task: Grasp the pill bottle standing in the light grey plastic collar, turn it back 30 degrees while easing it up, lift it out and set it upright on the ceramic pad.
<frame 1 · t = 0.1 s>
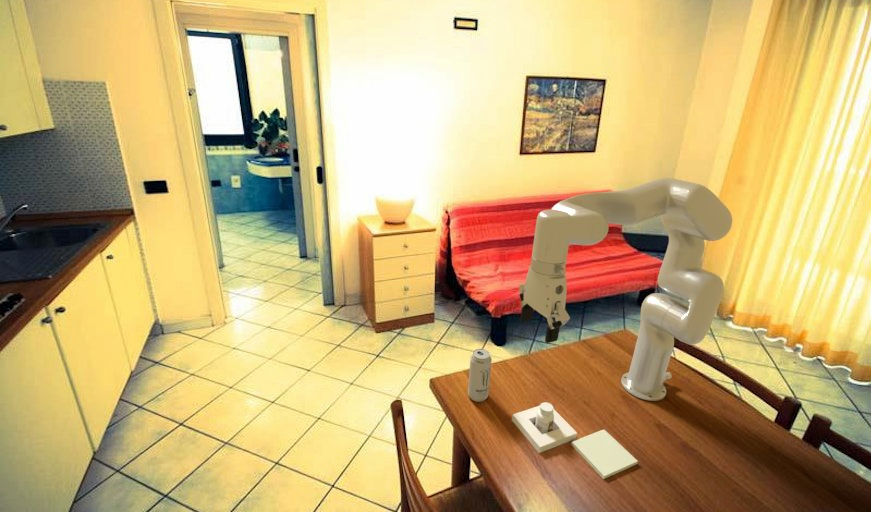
hand: (538, 330, 98), 31 cm above the table, fingers open, 9 cm apart
pill bottle: (543, 429, 110), resting in collar
collar: (543, 429, 109), on the table
energy drink can: (477, 396, 121), on the table
pad: (603, 454, 102), on the table
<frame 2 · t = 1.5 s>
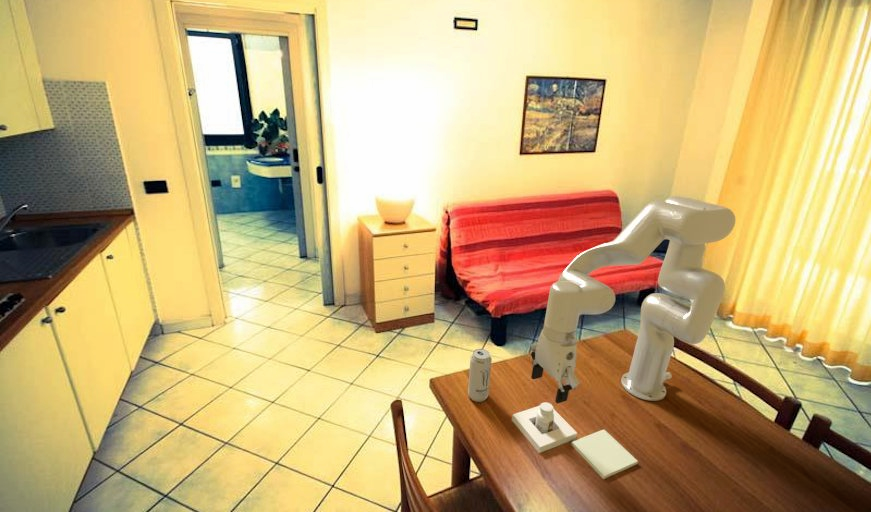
hand: (548, 389, 104), 14 cm above the table, fingers open, 9 cm apart
nothing on the table moved.
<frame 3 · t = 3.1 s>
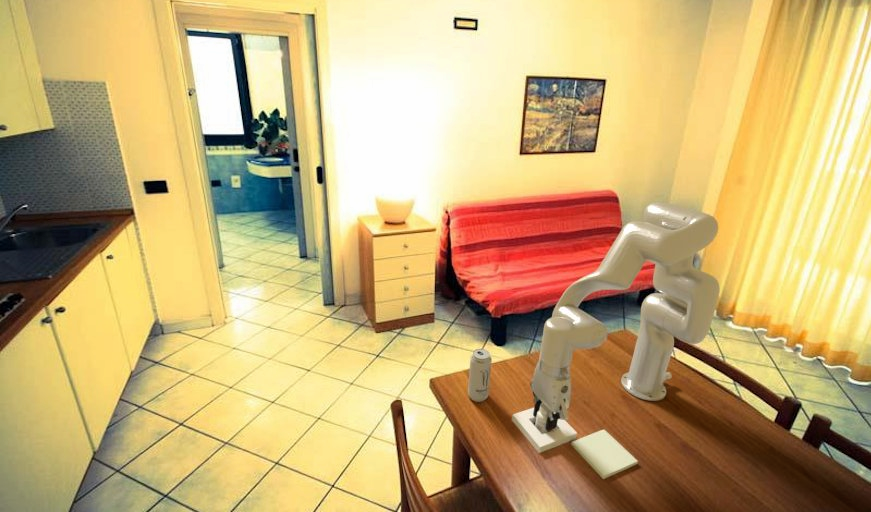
hand: (544, 421, 108), 3 cm above the table, fingers closed on pill bottle, 4 cm apart
pill bottle: (543, 429, 110), resting in collar, touching gripper
everything else where it was.
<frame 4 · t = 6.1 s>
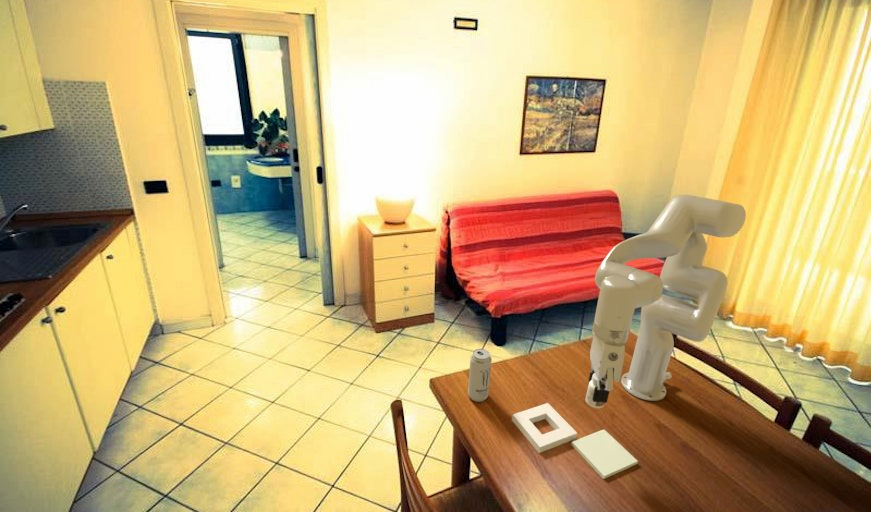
hand: (597, 393, 98), 17 cm above the table, fingers closed on pill bottle, 4 cm apart
pill bottle: (594, 403, 100), point 14 cm above the table, touching gripper
everything else where it was.
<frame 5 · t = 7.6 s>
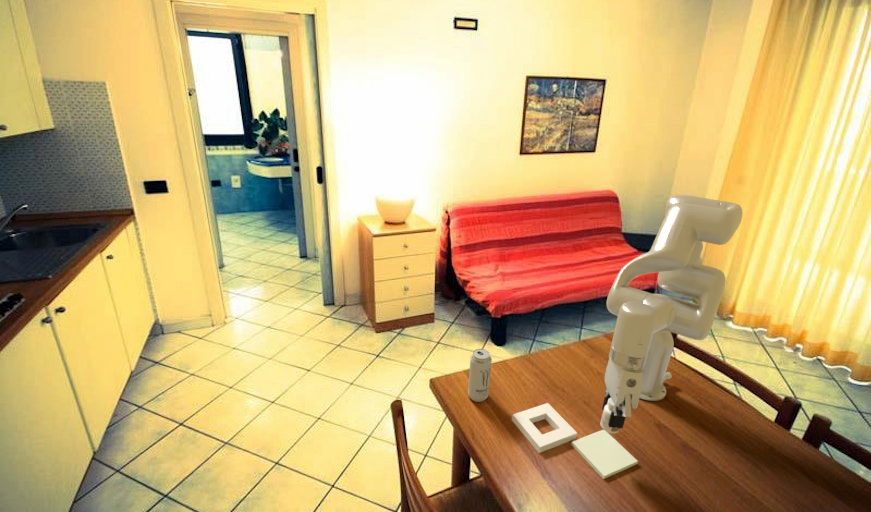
hand: (612, 418, 98), 12 cm above the table, fingers closed on pill bottle, 4 cm apart
pill bottle: (609, 427, 99), point 9 cm above the table, touching gripper
everything else where it was.
when the fingers open (5 cm above the table, at t = 9.1 s): pill bottle drops 1 cm, resting on pad.
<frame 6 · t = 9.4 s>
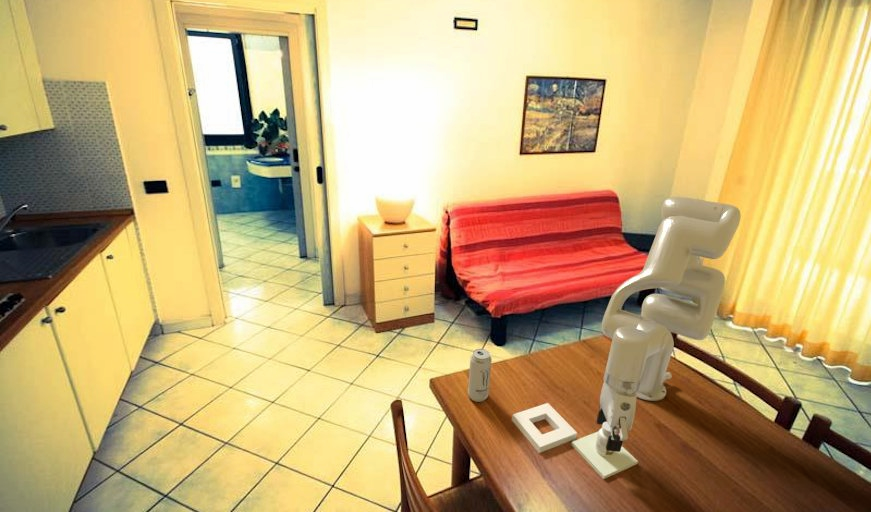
hand: (607, 436, 100), 6 cm above the table, fingers open, 7 cm apart
pill bottle: (604, 451, 102), point 1 cm above the table, touching pad
everything else where it was.
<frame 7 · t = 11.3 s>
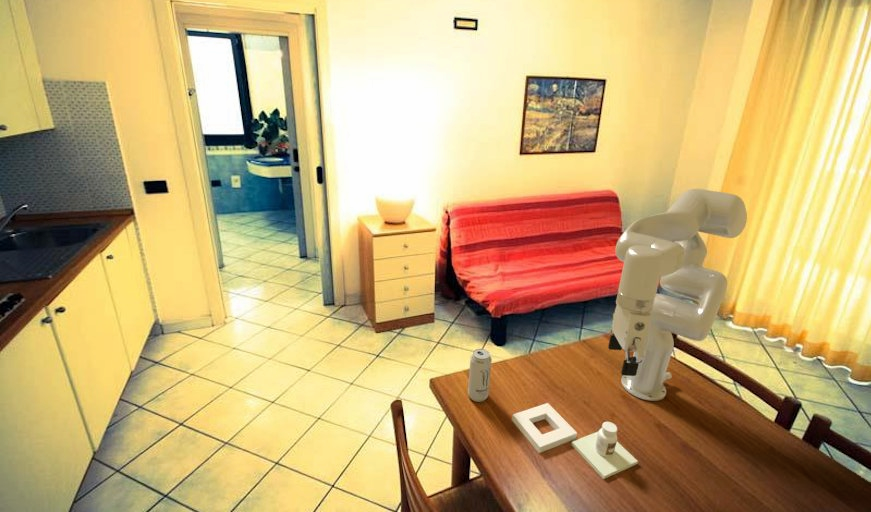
hand: (621, 361, 98), 24 cm above the table, fingers open, 9 cm apart
nothing on the table moved.
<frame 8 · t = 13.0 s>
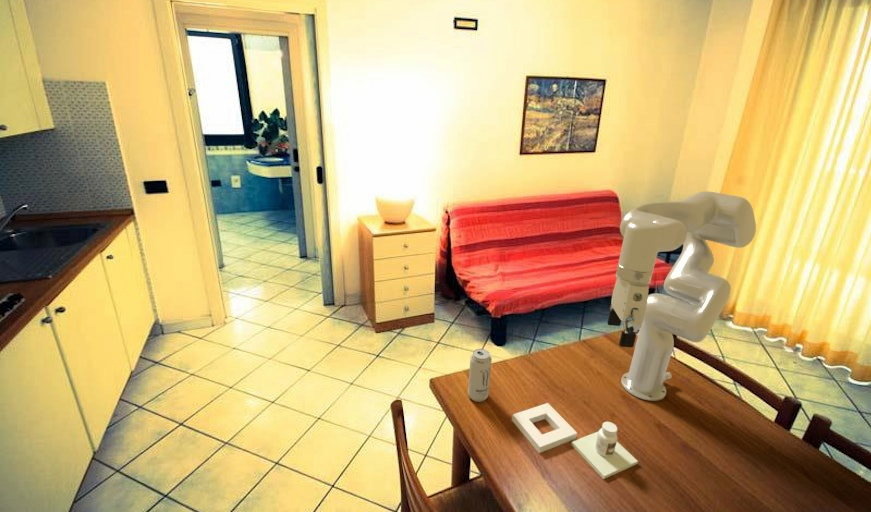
hand: (619, 335, 102), 28 cm above the table, fingers open, 9 cm apart
nothing on the table moved.
at the end: pill bottle 0.2 cm off-centre on the pad, point 0.8 cm above the pad's base; pill bottle tilted 0°; the gripper is holding nothing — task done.
